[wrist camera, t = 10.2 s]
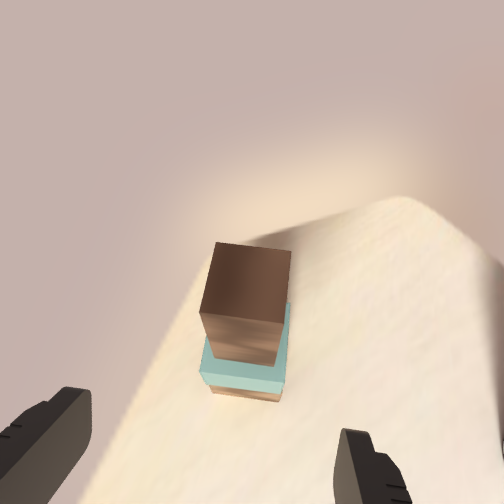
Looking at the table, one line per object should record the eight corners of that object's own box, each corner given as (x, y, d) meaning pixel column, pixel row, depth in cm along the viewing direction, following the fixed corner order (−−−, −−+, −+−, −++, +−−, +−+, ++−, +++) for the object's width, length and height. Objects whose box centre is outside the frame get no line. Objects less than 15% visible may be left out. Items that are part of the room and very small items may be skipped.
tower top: (285, 322, 35) (290, 302, 31) (280, 394, 32) (284, 382, 27) (218, 314, 36) (214, 294, 32) (206, 384, 32) (199, 371, 28)
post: (280, 310, 31) (291, 251, 22) (274, 367, 28) (284, 323, 20) (225, 303, 31) (215, 242, 23) (214, 358, 28) (199, 312, 20)
